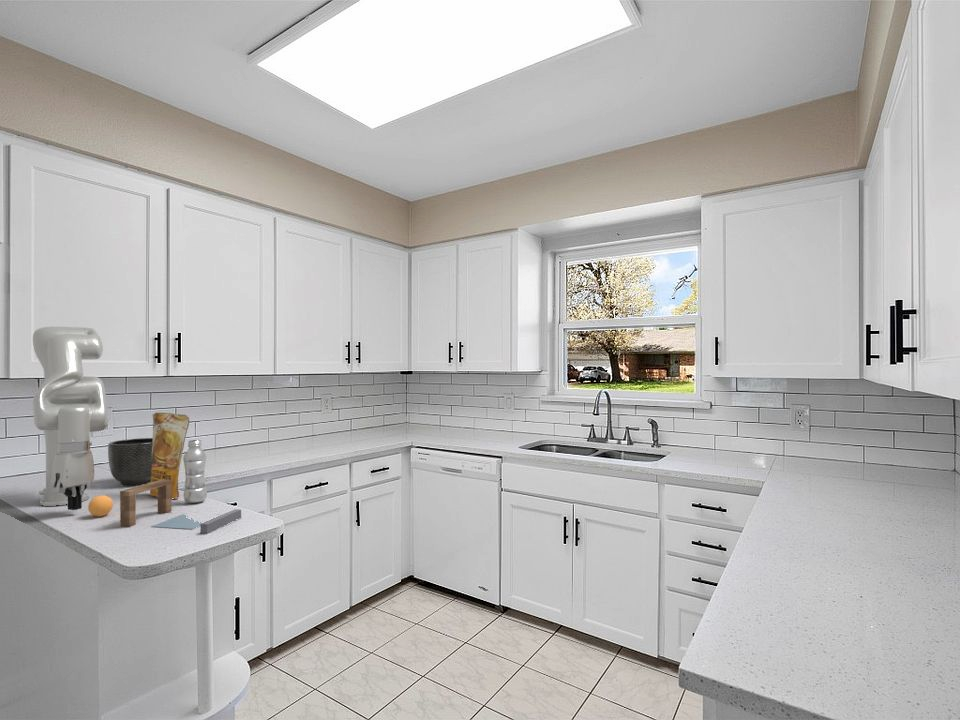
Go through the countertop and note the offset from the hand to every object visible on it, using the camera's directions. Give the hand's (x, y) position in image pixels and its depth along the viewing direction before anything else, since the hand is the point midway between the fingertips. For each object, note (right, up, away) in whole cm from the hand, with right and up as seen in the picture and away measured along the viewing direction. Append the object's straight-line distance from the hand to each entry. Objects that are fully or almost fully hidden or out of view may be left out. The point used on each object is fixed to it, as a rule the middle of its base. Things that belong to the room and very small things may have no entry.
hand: (74, 509), depth 157 cm
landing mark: (+38, -1, -8) cm, 39 cm away
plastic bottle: (+29, -2, +13) cm, 32 cm away
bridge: (+25, -1, -5) cm, 25 cm away
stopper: (+50, -1, -12) cm, 51 cm away
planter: (-8, -2, +41) cm, 41 cm away
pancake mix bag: (+15, -2, +22) cm, 26 cm away
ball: (+9, +1, -2) cm, 9 cm away
